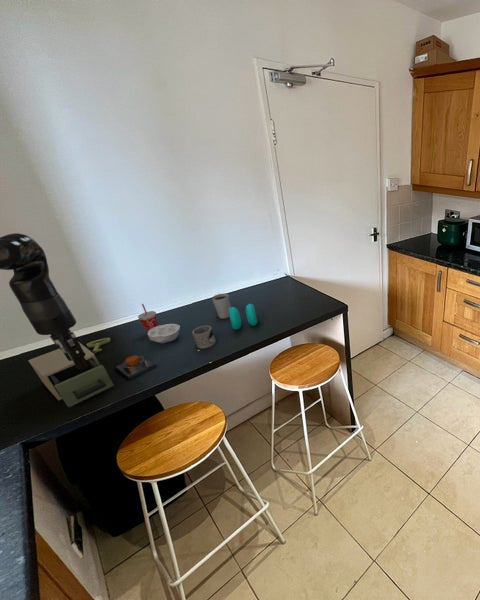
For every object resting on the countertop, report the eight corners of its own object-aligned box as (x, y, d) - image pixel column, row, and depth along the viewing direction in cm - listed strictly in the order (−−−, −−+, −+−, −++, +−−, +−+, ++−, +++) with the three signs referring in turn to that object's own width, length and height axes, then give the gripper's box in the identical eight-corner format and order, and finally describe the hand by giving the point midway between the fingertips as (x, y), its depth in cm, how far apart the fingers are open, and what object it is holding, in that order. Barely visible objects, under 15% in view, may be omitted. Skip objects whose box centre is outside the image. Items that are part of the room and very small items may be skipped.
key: (94, 356, 120) (92, 352, 119) (86, 345, 126) (84, 341, 125) (118, 347, 125) (115, 343, 124) (108, 337, 132) (106, 333, 131)
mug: (215, 345, 126) (210, 332, 123) (196, 350, 124) (191, 336, 120) (216, 333, 134) (212, 320, 131) (198, 337, 132) (193, 324, 129)
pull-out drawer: (119, 390, 102) (109, 370, 99) (74, 413, 94) (60, 392, 90) (97, 371, 111) (87, 352, 107) (54, 391, 102) (40, 371, 98)
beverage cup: (144, 338, 131) (131, 308, 125) (146, 331, 136) (134, 302, 130) (162, 334, 134) (150, 305, 127) (163, 327, 139) (152, 299, 132)
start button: (141, 361, 113) (139, 357, 112) (129, 366, 110) (128, 362, 109) (137, 358, 115) (135, 354, 114) (125, 363, 112) (123, 359, 111)
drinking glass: (236, 312, 150) (231, 294, 146) (226, 319, 145) (221, 300, 140) (224, 311, 152) (219, 292, 147) (214, 318, 146) (208, 298, 142)
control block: (155, 366, 114) (152, 360, 113) (129, 379, 108) (126, 372, 107) (142, 358, 119) (139, 351, 118) (117, 369, 113) (113, 363, 112)
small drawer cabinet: (107, 377, 109) (94, 354, 105) (58, 400, 100) (42, 375, 95) (91, 364, 116) (78, 341, 111) (43, 384, 106) (27, 360, 102)
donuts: (233, 323, 142) (227, 304, 137) (257, 318, 146) (252, 299, 141) (234, 334, 134) (228, 314, 129) (259, 328, 138) (254, 308, 133)
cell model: (165, 332, 135) (159, 318, 132) (189, 335, 133) (184, 321, 130) (144, 345, 126) (137, 331, 123) (169, 348, 124) (163, 334, 121)
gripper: (19, 311, 81) (52, 362, 89) (37, 326, 74) (70, 380, 82) (58, 300, 87) (86, 349, 94) (78, 313, 80) (105, 364, 88)
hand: (78, 363), depth 88 cm, fingers open, 7 cm apart
